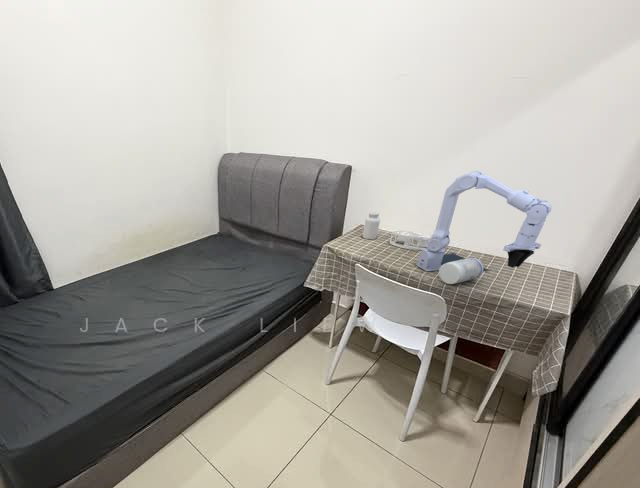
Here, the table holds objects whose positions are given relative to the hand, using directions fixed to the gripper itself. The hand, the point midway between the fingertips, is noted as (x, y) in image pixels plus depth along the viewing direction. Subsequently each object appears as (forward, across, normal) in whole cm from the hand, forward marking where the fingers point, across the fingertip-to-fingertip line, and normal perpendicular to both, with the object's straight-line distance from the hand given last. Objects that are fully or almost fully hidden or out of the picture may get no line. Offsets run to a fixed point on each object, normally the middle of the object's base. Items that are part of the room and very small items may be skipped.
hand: (513, 266), depth 121 cm
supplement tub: (+6, -5, +12) cm, 14 cm away
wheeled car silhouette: (+11, -6, +50) cm, 52 cm away
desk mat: (+10, +1, +26) cm, 28 cm away
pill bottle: (+11, -20, +68) cm, 72 cm away
